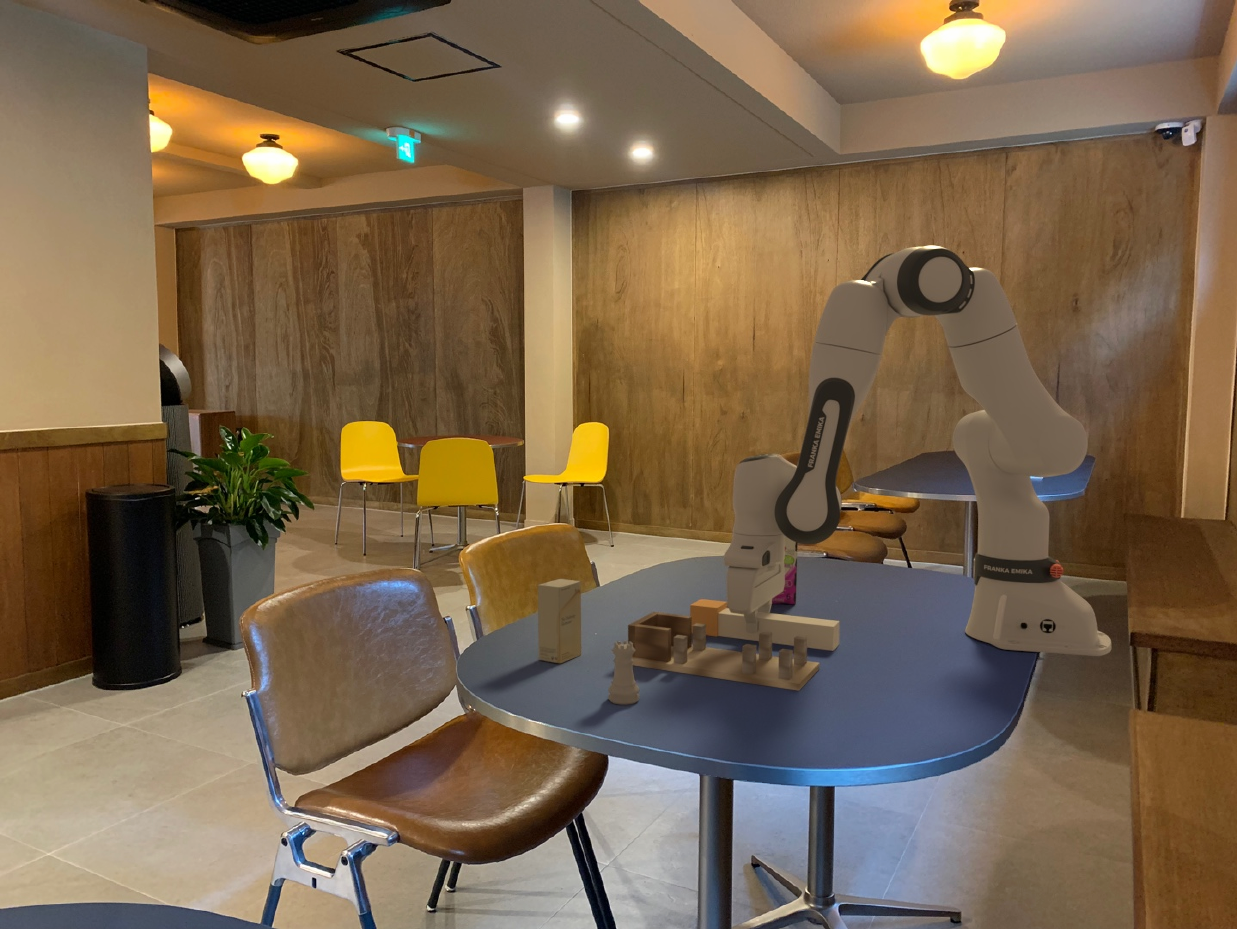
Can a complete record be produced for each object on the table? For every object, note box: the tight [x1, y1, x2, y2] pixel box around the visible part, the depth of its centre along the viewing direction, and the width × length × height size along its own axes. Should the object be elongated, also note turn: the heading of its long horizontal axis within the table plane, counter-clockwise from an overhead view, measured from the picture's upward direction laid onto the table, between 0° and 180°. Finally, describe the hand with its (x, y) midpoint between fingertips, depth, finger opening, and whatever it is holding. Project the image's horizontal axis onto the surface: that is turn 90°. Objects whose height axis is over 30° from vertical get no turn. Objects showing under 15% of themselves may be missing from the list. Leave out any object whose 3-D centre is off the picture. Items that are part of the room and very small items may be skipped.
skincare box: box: [537, 578, 582, 664], centre depth 144 cm, size 6×4×12 cm
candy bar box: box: [772, 536, 798, 605], centre depth 181 cm, size 11×5×16 cm, turn 84°
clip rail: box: [627, 611, 820, 692], centre depth 139 cm, size 28×11×6 cm, turn 63°
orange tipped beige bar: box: [689, 598, 840, 652], centre depth 155 cm, size 25×5×5 cm, turn 63°
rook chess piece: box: [607, 640, 641, 706], centre depth 124 cm, size 4×4×8 cm
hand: (757, 628), depth 155 cm, fingers closed on orange tipped beige bar, 4 cm apart
